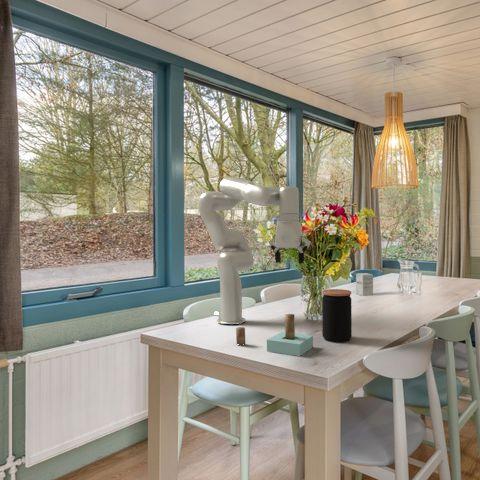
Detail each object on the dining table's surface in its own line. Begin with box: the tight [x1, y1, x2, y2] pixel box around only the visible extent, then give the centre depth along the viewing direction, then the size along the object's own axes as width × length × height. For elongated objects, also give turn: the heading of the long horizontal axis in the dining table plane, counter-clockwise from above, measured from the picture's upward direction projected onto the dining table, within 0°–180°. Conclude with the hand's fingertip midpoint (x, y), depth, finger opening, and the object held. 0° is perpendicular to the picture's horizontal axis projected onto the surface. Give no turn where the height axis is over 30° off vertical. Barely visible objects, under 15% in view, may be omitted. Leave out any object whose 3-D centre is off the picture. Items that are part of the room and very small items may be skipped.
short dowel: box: [235, 326, 246, 345], centre depth 157 cm, size 3×3×6 cm
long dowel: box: [284, 313, 296, 340], centre depth 151 cm, size 3×3×12 cm
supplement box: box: [355, 272, 374, 297], centre depth 261 cm, size 7×7×13 cm
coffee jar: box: [321, 288, 353, 344], centre depth 163 cm, size 11×11×18 cm
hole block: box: [266, 331, 314, 357], centre depth 151 cm, size 12×12×4 cm
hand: (289, 262), depth 169 cm, fingers open, 9 cm apart
